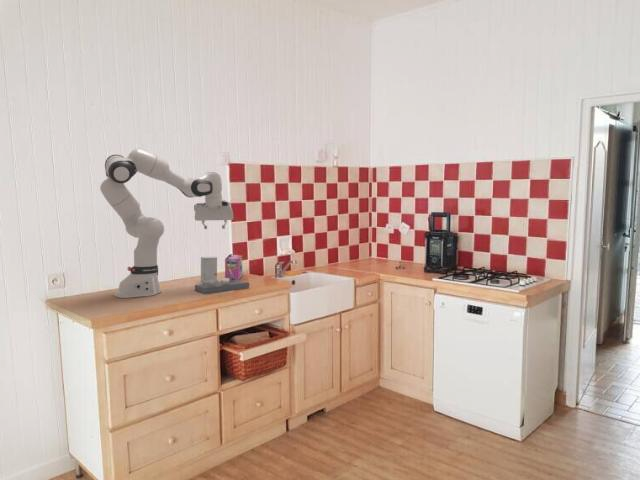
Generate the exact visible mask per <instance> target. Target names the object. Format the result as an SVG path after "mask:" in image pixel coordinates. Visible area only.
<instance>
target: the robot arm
mask: <svg viewBox="0 0 640 480" xmlns="http://www.w3.org/2000/svg"><path fill="white" fill-rule="evenodd" d="M104 170H105V176H106V177H107V178H106V179H104V180H103V181H102V182H101V184H100V187H99V188H100V192H101V193H102V195H103V197H104V199H105V200H106V201H107V203H108V204H109V205H110V206H111V207H112V209H113V210H114V211H115V212H116V213H117V214H118V216H119V217H120V219H121V220H122V222H123V225H124V227H125V231H126V233H127V234H128V235H129V236H132V237H133V238H137V239H138V240H137V244H136V247H135V248H134V250H133V266H132V267H131V266H127V268H126V269H127V271H129V272H130V274H128V275H127V276H126V277H125V278H124V279H122V280H121V281H120V282H119V286H118V291H115V292H114V293H113V296H114V297H116V298H120V299H129V298H139V297H140V298H141V297H150V296H156V295H157V294H159V293H161V292H162V290H161V288H160V284H159V283H160V282H159V278H158V276H159V265H158V246H159V242H160V239H161V237H162V236H163V235H164V232H165V225H164V223H163V222H162V221H161V220H159V219H157V218H155V217H149V216H145V215H144V214H143V212H142V210H141V208H140V207H141V205H140V203H139V201H138V200H137V199H136V198H135V197H134V195H133V194H132V192H131V191H130V190H129V189H128V188H127V187H126V185H125V183H127V182H129V181H131V179H132V178H133V177H134V175H136V174H137V173H140V174H142V175H144V176H146V177H149V178H150V179H154V180H157V181H162V182H165V183H166V184H169V185H171V186H172V187H175V188H176V189H178V190H179V191H180V192H181V193H182V194H183V195H184V196H185V197H187V198H201V197H204V198H205V199H204V202H202V203H200V202H198V203H195V204H194V205H193V211H194V220H195V221H201V224H202V225H203V228H204V230H207V229H208V225H206V224H205V222H206V221H223V222H224V224H222V226H221V227H222V228H221V229H222V230H224V229H226V224H227V223H228V221H233V219H234V212H233V207H231V202H230V201H228V200H225V199H223V196H222V191H223V190H222V189H223V186H222V185H223V184H222V178H221V175H220V174H219V173H217V172H214V171H206V172H205V173H204V174H203V175H200V176H199V177H196V178H185V177H182V176H181V175H179V174H177V173H175V172H173V171H172V170H171V169H170V165H169V163H168V161H166V160H165V159H163V158H162V157H160V156H158V155H157V154H154V153H152V152H150V151H147V150H143V149H140V148H134V149H133V150H131V151H130V153H129V154H128V155H127V156H126V157H124V156H123V155H121V154H112V155H109V156H108V157H107V158H106V160H105V162H104Z"/></svg>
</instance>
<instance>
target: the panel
mask: <svg viewBox="0 0 640 480" xmlns="http://www.w3.org/2000/svg"><path fill="white" fill-rule="evenodd" d="M249 288H250V282H249V281H244V280H241V279H239V280H230V281H229V282H228V283H221V281H217V282H216V284H212V285H210V284H207V283H201V284H200V283H199V284H194V291H196V292H198V293H200V294H201V293H202V294H204V295H208V294H215V293H222V292H223V293H224V292H229V291H236V290H243V289H244V290H245V289H249Z"/></svg>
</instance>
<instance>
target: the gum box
mask: <svg viewBox="0 0 640 480" xmlns="http://www.w3.org/2000/svg"><path fill="white" fill-rule="evenodd" d="M228 264H230V265H231V268H230V269H231V272H232V275H233V277H234V278H235V280H241V278H242V277H243V255H242V254H241V253H240V254H232V253H229V255H227V257H225V259H224V278H229V281H230V280H231V274H230V272H229V269H228V268H227V265H228ZM241 276H242V277H241Z"/></svg>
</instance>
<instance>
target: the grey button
mask: <svg viewBox="0 0 640 480" xmlns="http://www.w3.org/2000/svg"><path fill="white" fill-rule="evenodd" d="M207 284H210V285H212V284H216V280H207Z"/></svg>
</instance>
